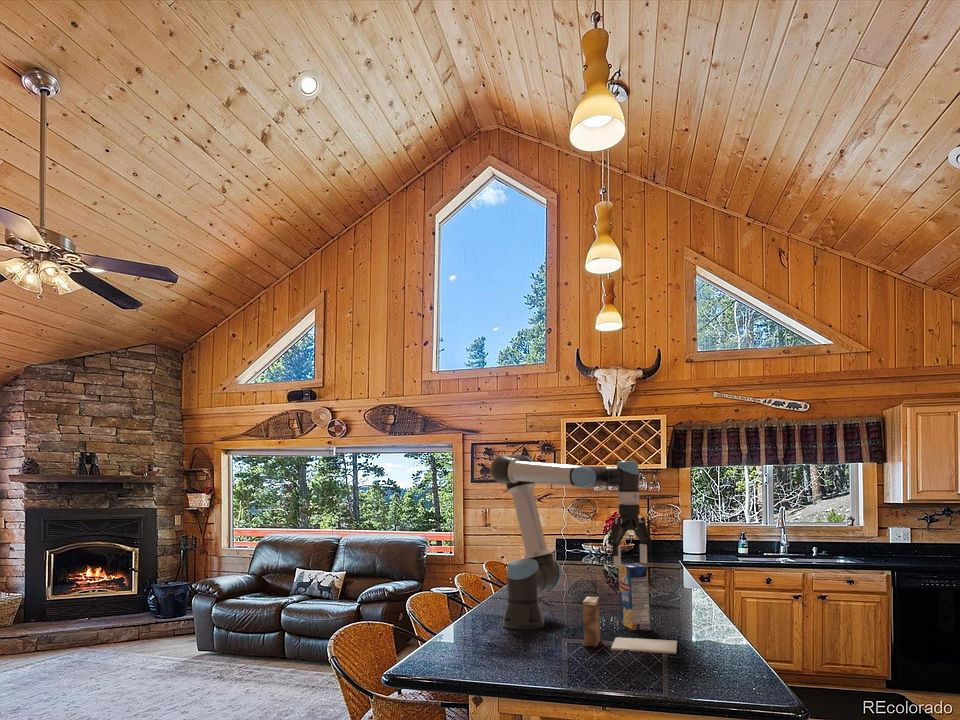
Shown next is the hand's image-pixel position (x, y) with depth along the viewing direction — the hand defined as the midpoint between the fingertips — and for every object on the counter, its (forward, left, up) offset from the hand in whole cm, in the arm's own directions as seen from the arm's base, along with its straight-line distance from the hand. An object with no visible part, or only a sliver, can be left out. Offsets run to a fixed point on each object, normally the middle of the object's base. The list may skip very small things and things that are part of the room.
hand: (630, 564), depth 251 cm
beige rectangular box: (-12, -20, -23) cm, 33 cm away
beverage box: (0, +8, -24) cm, 25 cm away
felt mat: (+5, -20, -23) cm, 31 cm away
